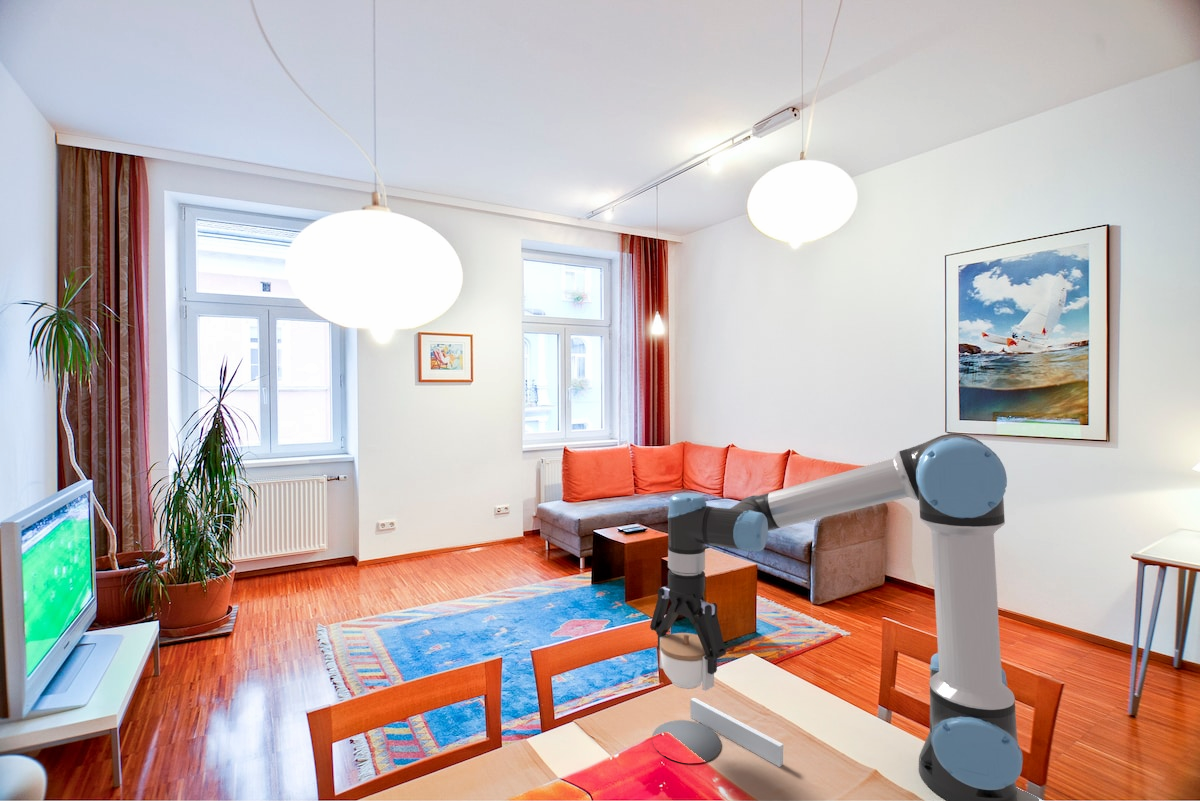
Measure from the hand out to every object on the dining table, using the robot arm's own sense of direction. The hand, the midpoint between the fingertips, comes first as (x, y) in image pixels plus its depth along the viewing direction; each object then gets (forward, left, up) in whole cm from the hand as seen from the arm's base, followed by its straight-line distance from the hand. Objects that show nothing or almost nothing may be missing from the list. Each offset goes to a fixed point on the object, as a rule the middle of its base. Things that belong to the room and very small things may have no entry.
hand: (685, 676), depth 116 cm
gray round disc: (0, 0, -14) cm, 14 cm away
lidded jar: (0, 0, -1) cm, 1 cm away
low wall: (-6, -8, -14) cm, 17 cm away
